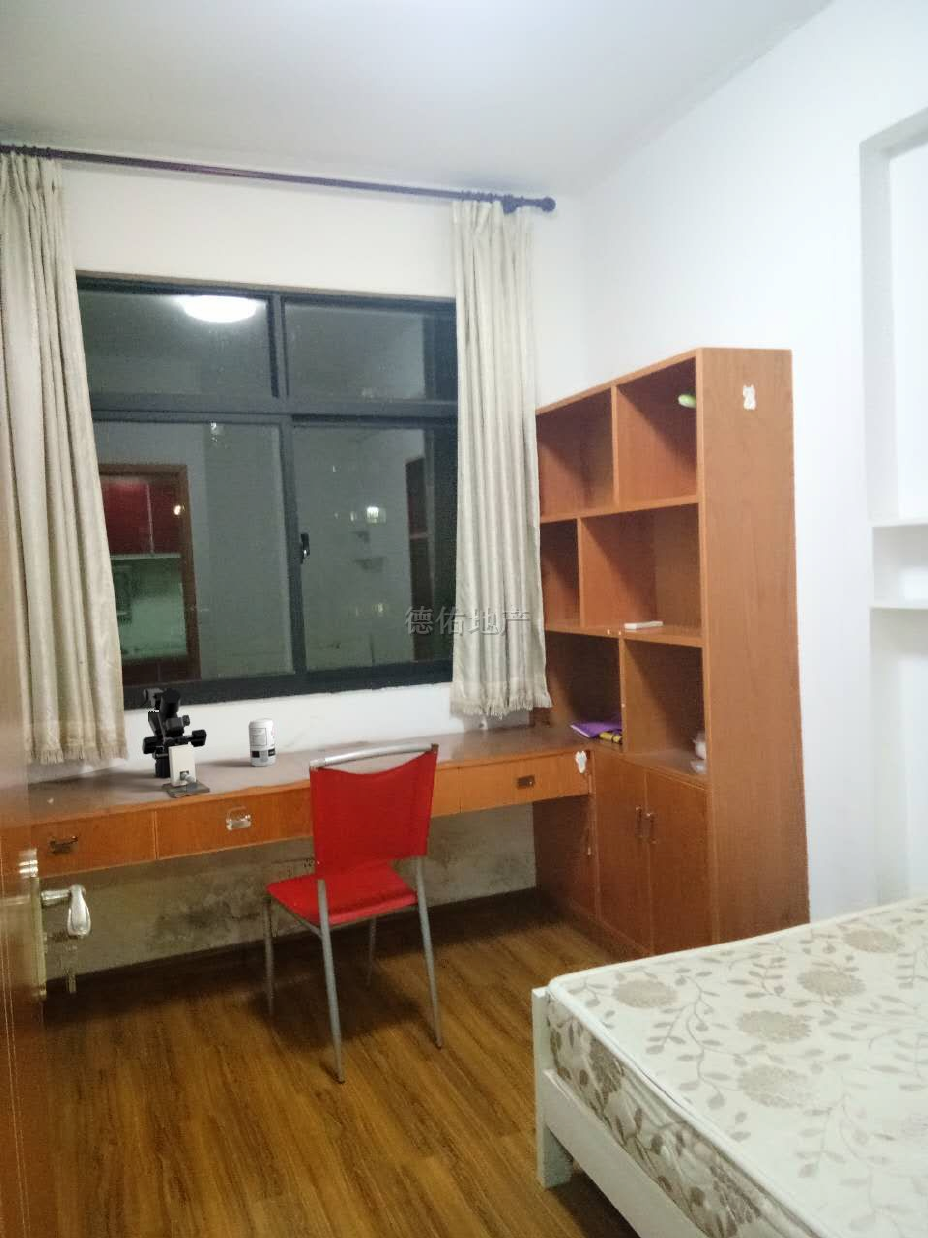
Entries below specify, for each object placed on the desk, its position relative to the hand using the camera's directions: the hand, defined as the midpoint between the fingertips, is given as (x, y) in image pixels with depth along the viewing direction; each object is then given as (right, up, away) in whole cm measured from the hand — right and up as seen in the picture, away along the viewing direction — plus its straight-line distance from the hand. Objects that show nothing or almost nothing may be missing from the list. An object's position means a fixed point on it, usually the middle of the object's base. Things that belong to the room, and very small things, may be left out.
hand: (180, 763), depth 268 cm
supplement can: (+19, -5, +27) cm, 34 cm away
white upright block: (+2, -6, -2) cm, 6 cm away
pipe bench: (+3, -7, -4) cm, 9 cm away
